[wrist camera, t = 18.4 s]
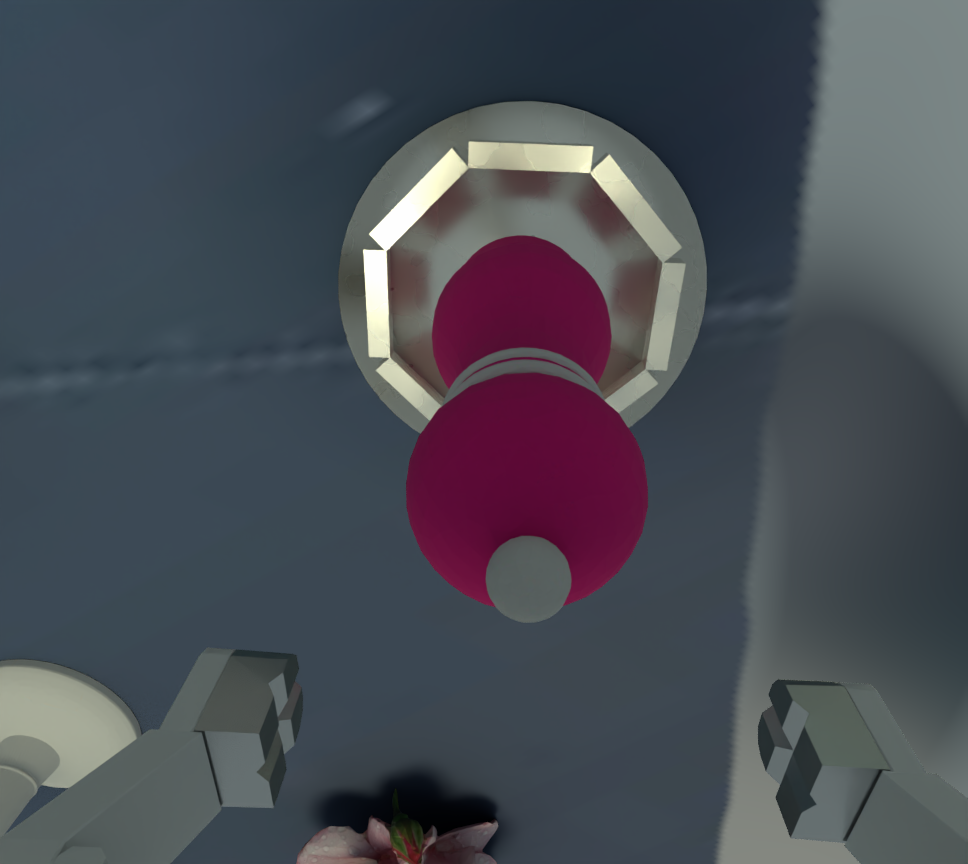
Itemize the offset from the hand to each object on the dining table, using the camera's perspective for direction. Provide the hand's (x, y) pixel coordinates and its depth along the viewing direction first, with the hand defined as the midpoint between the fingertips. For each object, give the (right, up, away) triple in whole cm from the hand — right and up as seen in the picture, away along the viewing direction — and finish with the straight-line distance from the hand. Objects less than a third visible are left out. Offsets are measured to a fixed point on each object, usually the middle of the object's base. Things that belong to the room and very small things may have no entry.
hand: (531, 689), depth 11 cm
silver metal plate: (+1, +11, +20) cm, 23 cm away
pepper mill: (+1, +10, +19) cm, 22 cm away
